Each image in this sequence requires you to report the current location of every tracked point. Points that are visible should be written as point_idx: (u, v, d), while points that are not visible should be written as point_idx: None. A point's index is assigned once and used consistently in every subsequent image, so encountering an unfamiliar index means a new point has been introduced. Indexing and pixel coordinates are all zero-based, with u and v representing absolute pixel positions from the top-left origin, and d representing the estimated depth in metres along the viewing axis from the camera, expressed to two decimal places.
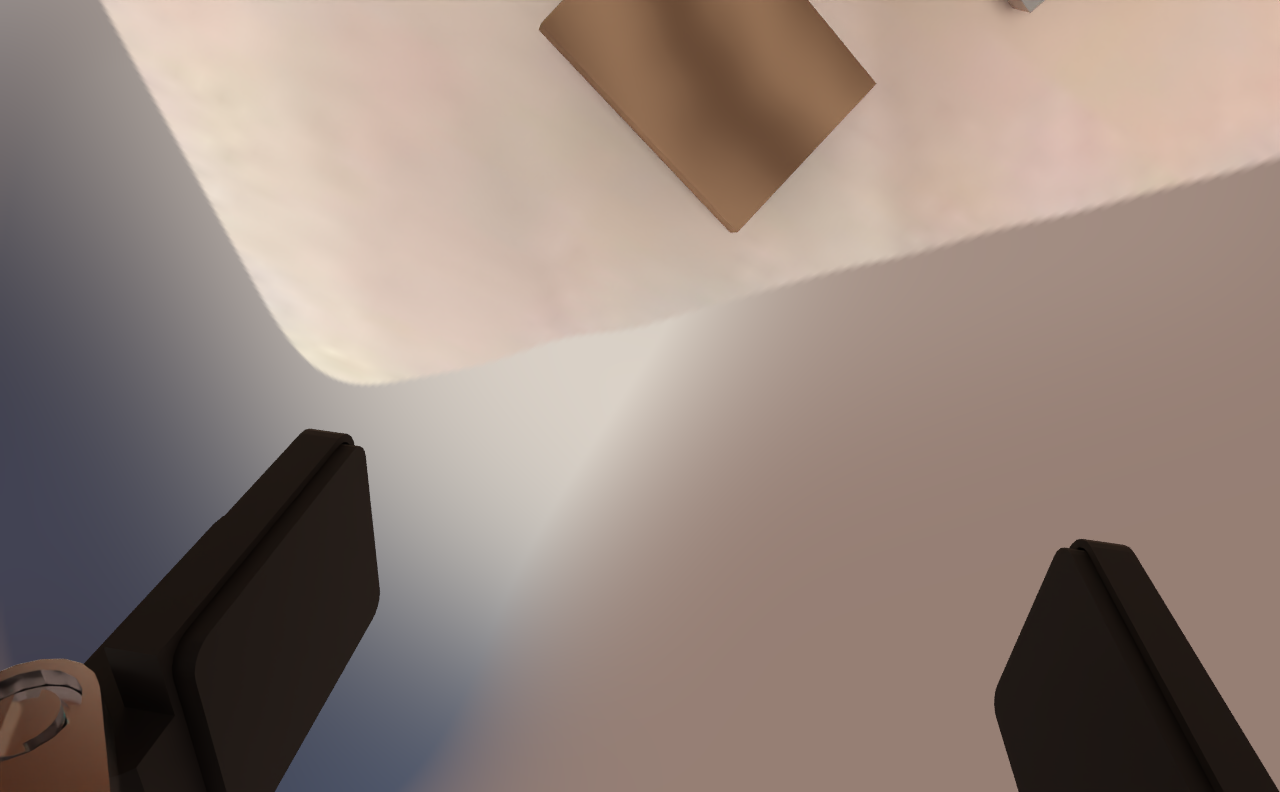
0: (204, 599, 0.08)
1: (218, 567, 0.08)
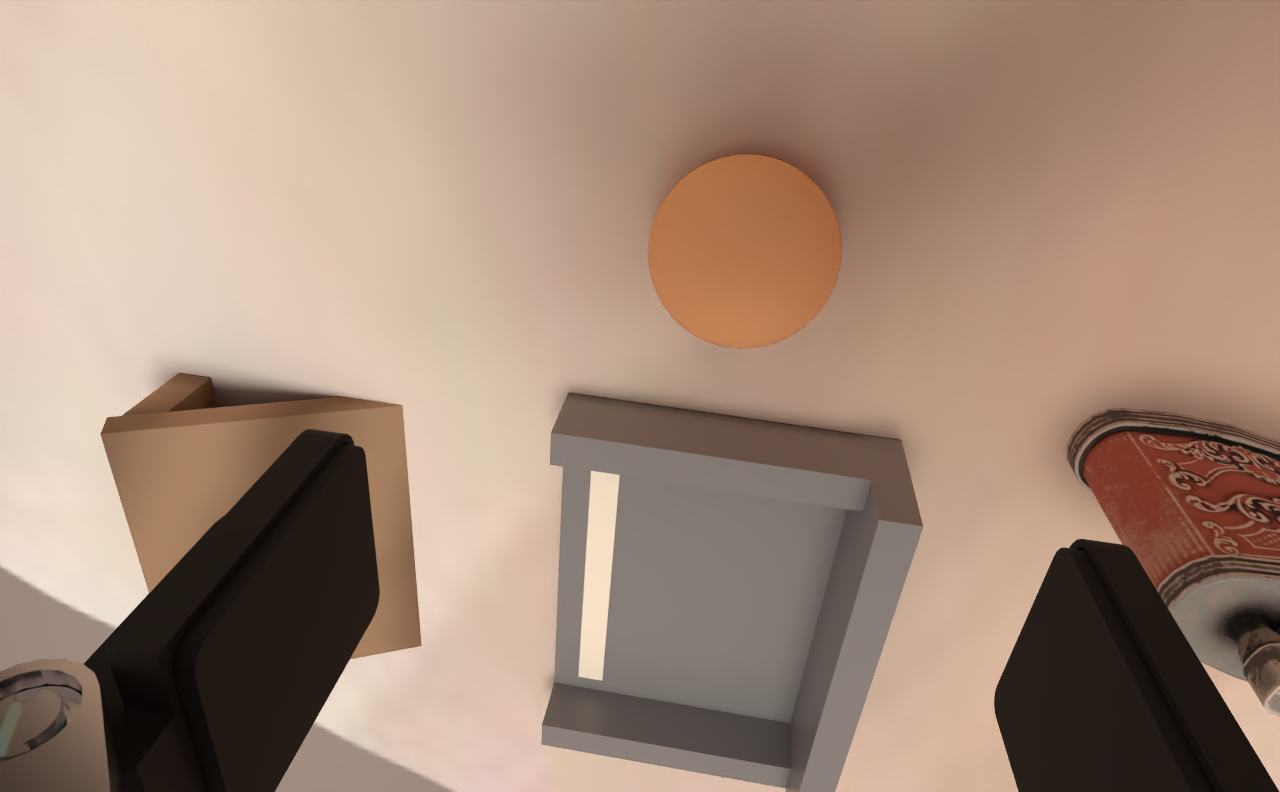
0: (204, 598, 0.08)
1: (218, 567, 0.08)
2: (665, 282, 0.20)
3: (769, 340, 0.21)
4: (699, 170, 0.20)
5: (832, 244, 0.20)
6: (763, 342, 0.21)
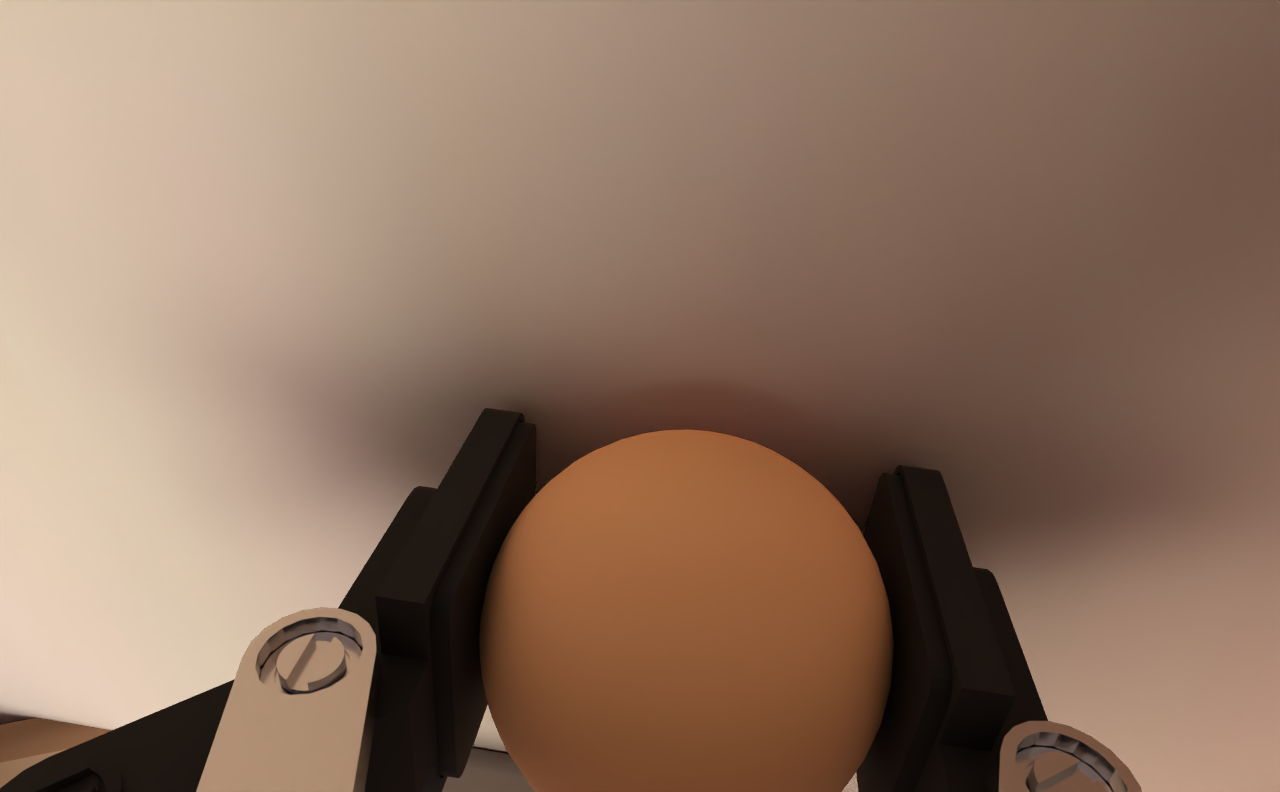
0: (448, 556, 0.09)
1: (449, 529, 0.09)
2: (502, 738, 0.09)
3: None
4: (578, 488, 0.09)
5: (879, 672, 0.09)
6: None
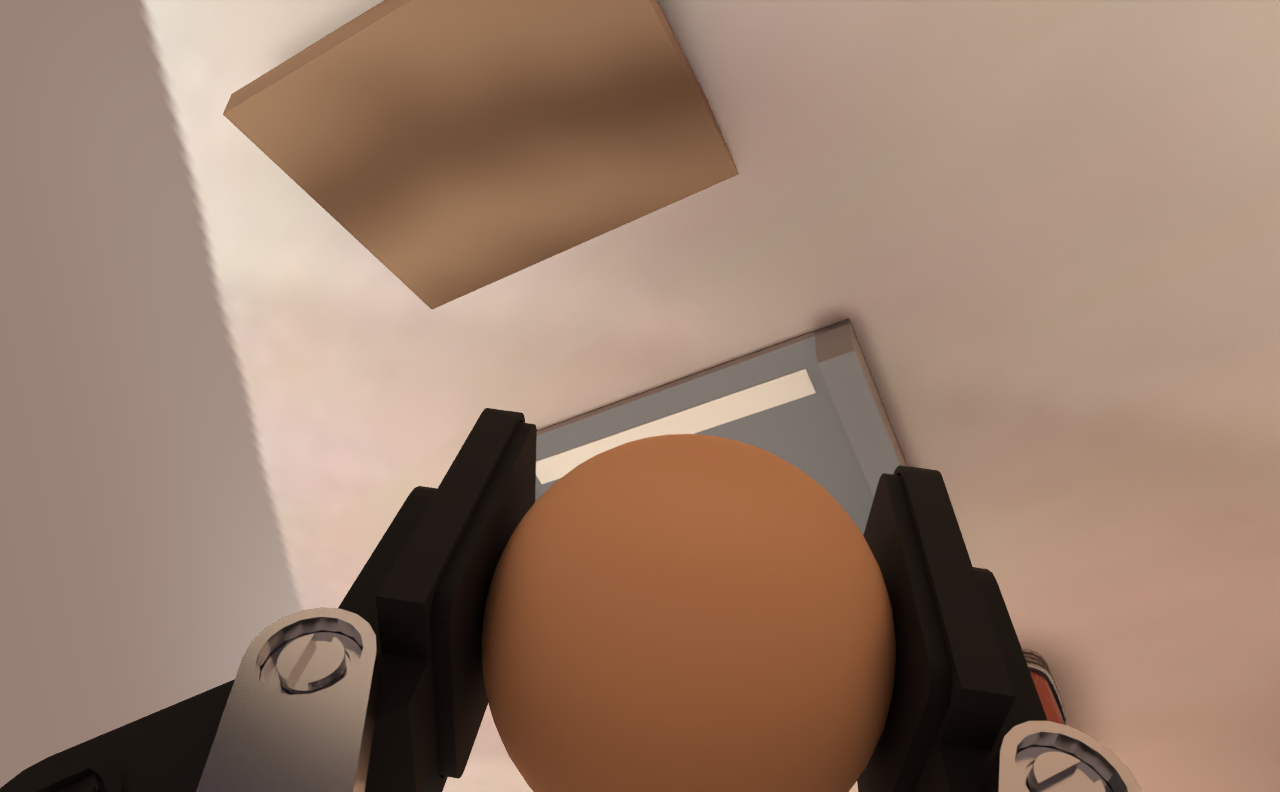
0: (448, 556, 0.09)
1: (450, 529, 0.09)
2: (504, 742, 0.09)
3: None
4: (581, 492, 0.09)
5: (882, 678, 0.09)
6: None
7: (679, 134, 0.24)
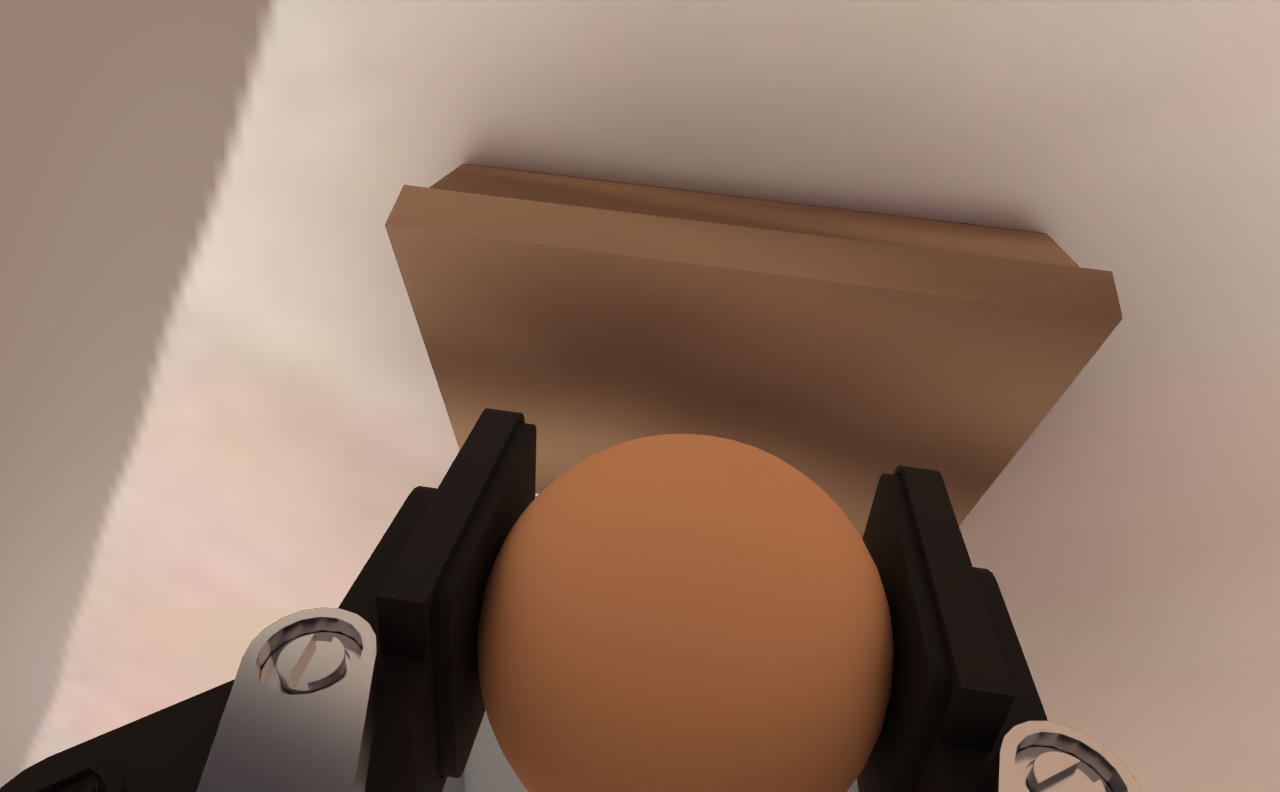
0: (448, 556, 0.09)
1: (449, 529, 0.09)
2: (500, 745, 0.09)
3: None
4: (576, 493, 0.09)
5: (879, 679, 0.09)
6: None
7: None
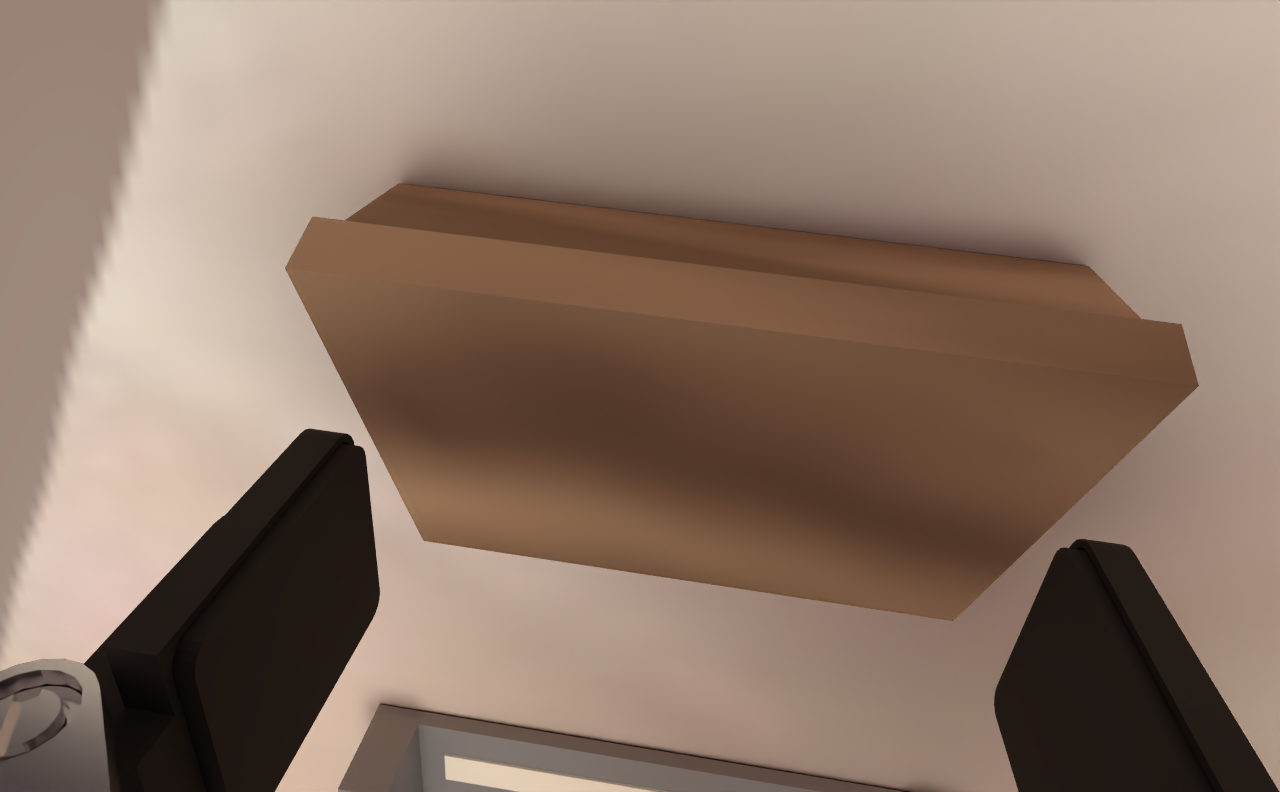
0: (204, 598, 0.08)
1: (218, 567, 0.08)
2: None
3: None
4: None
5: None
6: None
7: (938, 576, 0.16)
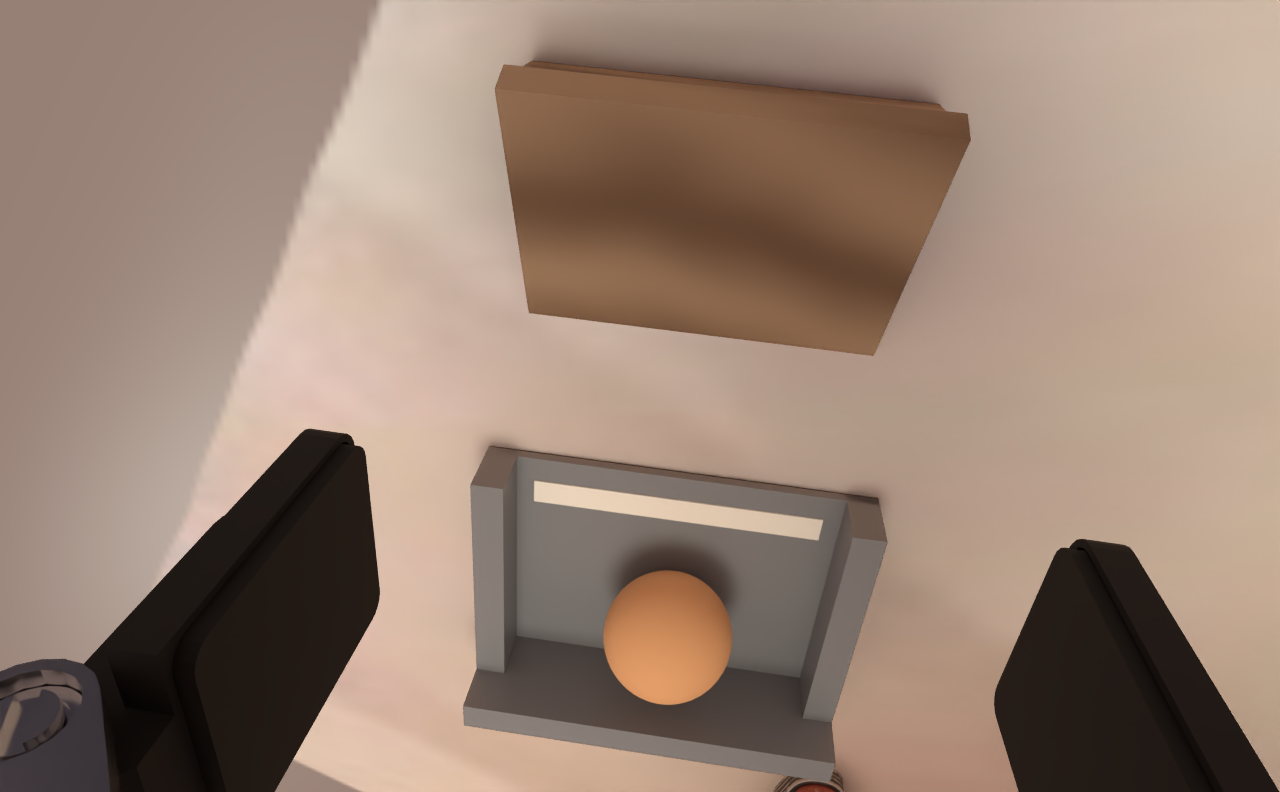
0: (204, 598, 0.08)
1: (218, 567, 0.08)
2: None
3: None
4: (628, 660, 0.30)
5: None
6: None
7: (859, 311, 0.26)
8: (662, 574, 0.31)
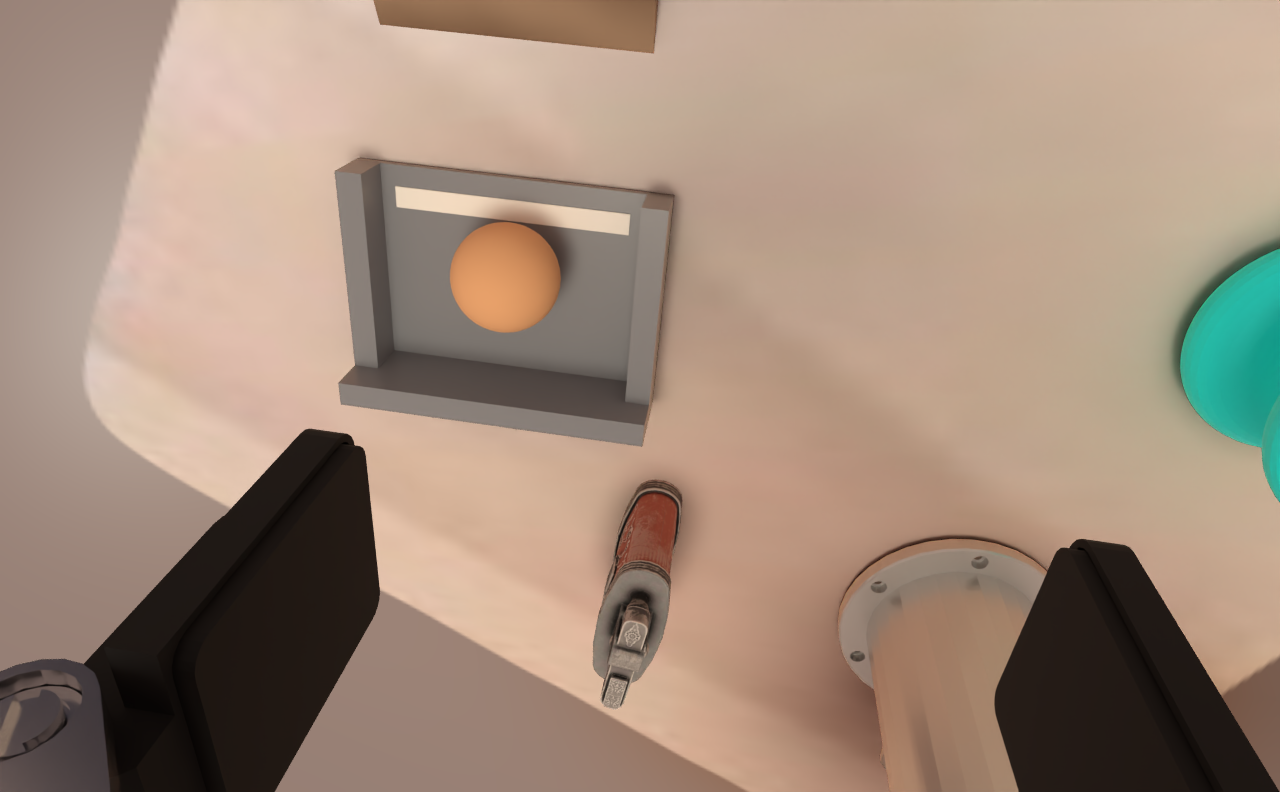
0: (204, 598, 0.08)
1: (218, 567, 0.08)
2: (459, 305, 0.37)
3: None
4: (470, 243, 0.35)
5: (548, 285, 0.36)
6: None
7: (630, 0, 0.33)
8: None
